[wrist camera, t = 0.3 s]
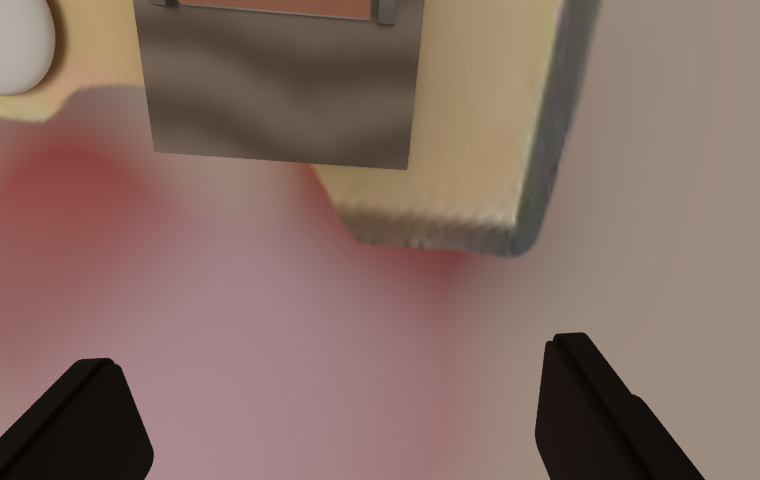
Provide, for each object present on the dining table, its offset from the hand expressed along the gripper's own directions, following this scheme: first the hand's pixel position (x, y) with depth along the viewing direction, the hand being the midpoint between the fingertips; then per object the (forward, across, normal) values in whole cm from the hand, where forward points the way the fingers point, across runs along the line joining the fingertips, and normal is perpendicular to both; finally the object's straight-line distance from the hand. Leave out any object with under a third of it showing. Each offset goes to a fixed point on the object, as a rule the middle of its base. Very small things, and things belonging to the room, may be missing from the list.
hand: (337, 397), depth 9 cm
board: (+30, +6, -8) cm, 32 cm away
